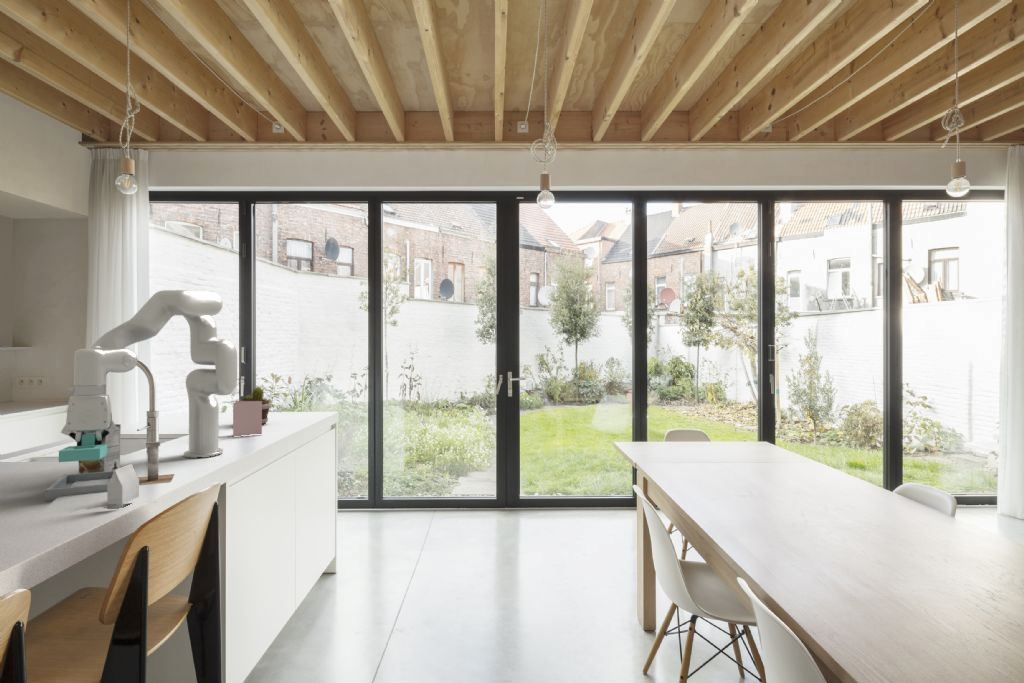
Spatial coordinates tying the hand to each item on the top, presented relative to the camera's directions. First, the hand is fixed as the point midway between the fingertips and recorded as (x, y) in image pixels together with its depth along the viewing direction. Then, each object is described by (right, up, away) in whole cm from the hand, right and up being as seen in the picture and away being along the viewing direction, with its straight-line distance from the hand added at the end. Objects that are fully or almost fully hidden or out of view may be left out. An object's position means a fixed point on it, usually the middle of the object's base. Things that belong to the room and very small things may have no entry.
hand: (89, 453), depth 159 cm
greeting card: (+7, -9, +78) cm, 79 cm away
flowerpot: (-2, -8, +107) cm, 107 cm away
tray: (+2, -10, -4) cm, 10 cm away
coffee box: (-5, -9, +11) cm, 15 cm away
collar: (+2, 0, -4) cm, 5 cm away
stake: (+16, -10, +3) cm, 19 cm away
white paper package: (+21, -10, -16) cm, 29 cm away
